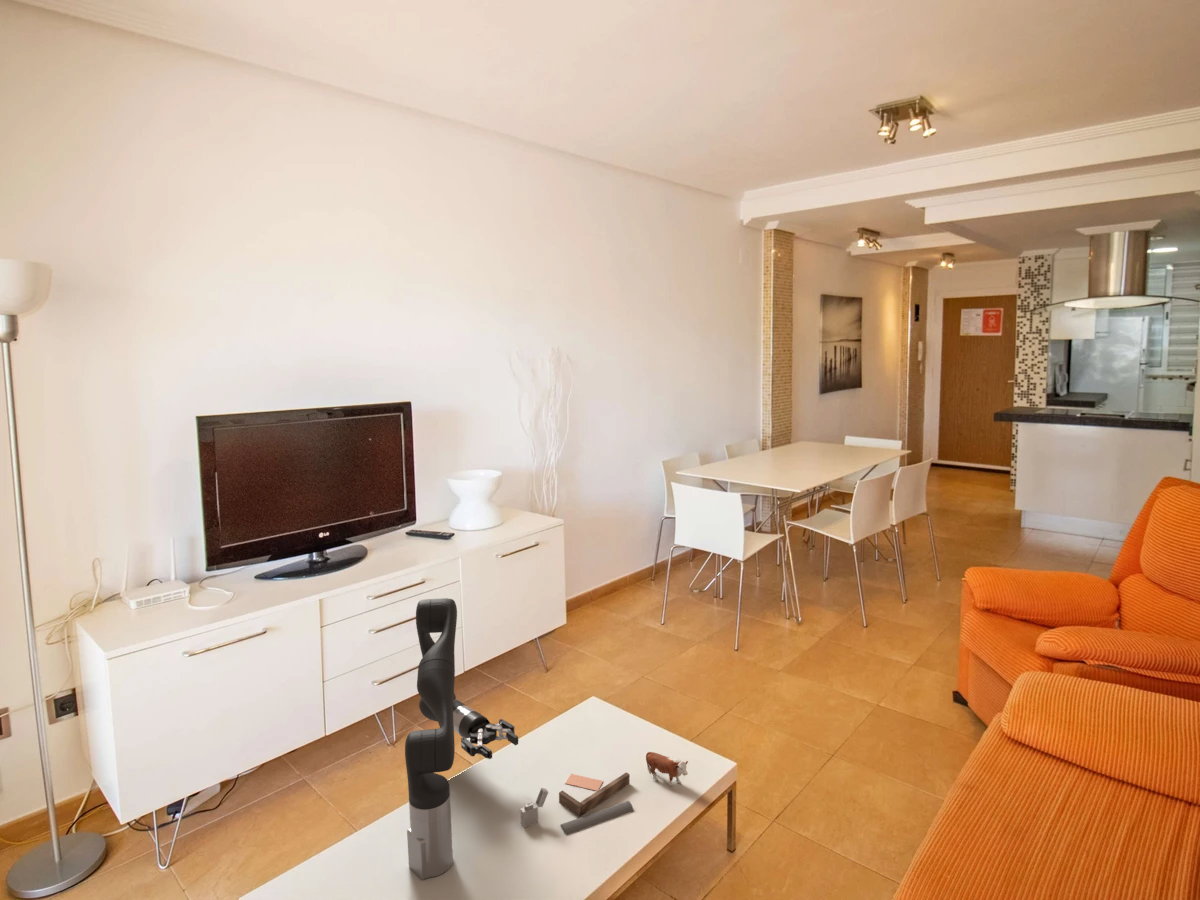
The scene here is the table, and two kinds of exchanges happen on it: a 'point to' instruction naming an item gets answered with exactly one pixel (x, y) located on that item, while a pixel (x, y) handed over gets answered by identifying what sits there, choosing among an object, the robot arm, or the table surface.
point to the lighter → (533, 809)
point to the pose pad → (584, 782)
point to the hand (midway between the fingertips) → (504, 748)
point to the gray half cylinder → (597, 817)
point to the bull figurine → (665, 766)
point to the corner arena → (594, 796)
